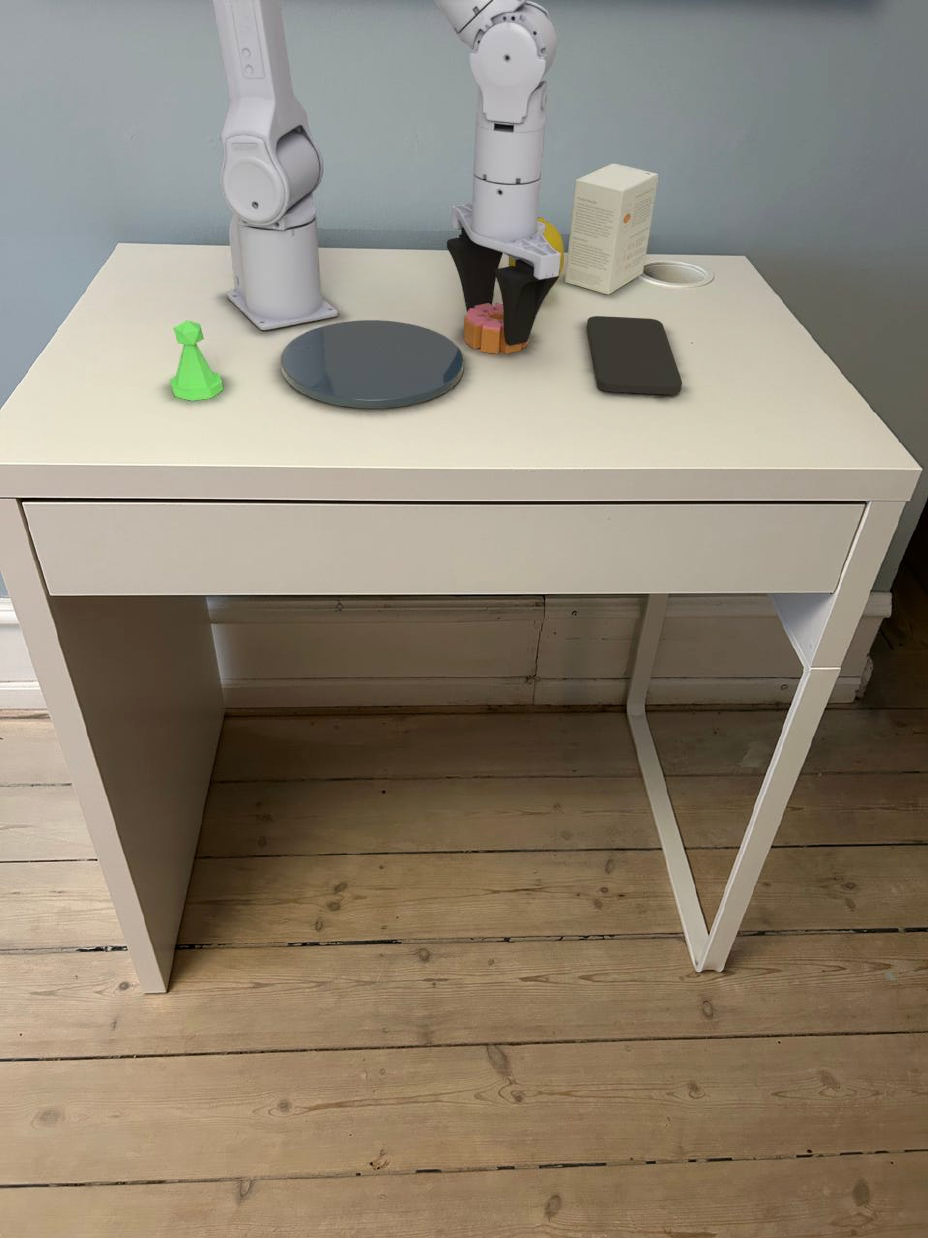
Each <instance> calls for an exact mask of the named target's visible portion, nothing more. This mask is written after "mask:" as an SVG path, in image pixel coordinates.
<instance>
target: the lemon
mask: <svg viewBox="0 0 928 1238" xmlns="http://www.w3.org/2000/svg"><path fill="white" fill-rule="evenodd" d="M537 220H538V221H539V222H541V223H543V224H545V225H546V228H545V233H543V234H542V235H543V236H544V238H545V239H546V240H547V242H548V243H549V244H550V246H551V247H552V248H553V249H555V250H556V251H557V252H559V253H561V257H560V267H559V270H560V272H559V278H558V280H557V281H556V282H555V284H554V285H553V286H552V288H553V287H554V286H555V285H556V284H557V283H558V281H559V279H560V277H561V275H562V273H563V269H564V264H565V249H564V241H563V237H562V235H561V233H560V231H559V230H558V229H557V228H556V227H555V226H554V225H553V224H552V223H550V222H548V221H546V220H545V219H544V217H541V216H537ZM509 266H514V267H515V260H514V259H512V258H511V257H509V256H508V267H509Z"/></svg>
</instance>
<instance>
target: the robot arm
mask: <svg viewBox="0 0 928 1238" xmlns="http://www.w3.org/2000/svg"><path fill="white" fill-rule="evenodd" d="M211 1H212V6H213V11H214V17H215V24H216V29H217V34H218V40H219V44H220V45H219V46H220V51H221V56H222V62H223V67H224V72H225V77H226V83H227V88H228V94H229V100H230V102H229V106H228V110H227V114H226V117H225V120H224V123H223V127H222V131H221V135H220V138H221V142H222V149H223V160H222V166H221V169H220V172H219V173H220V174H219V185H220V191H221V193H222V197H223V199H224V201H225V203H226V205H227V206H228V208H229V209H230V210H231V212H232V213H233V215H232V218H231V220H230V223H229V226H228V228H229V229H228V239H229V240H228V241H229V246H230V256H231V267H232V272H233V281H234V289H231V290H228V291H226V293H225V294H226V295H225V296H226V297H227V298H228V299H229V301H231V302H232V303H233V304H234V305H235V306H236V307H237V308H238V309H239V311H241V312H242V313H243V314H244V315H245V316H246V317H247V318H248V319H249V320H250V321H251V322H252V323H253V324H254V325H255V326H256V327H257V328H258V329H259V330H261V331H269V330H274V329H279V328H284V327H290V326H294V325H299V324H305V323H310V322H315V321H319V320H325V319H330V318H331V319H332V318H335V317H338V315H339V312H338V310H337V309H336V308H335V307H333V306H332V305H331V304H330V303H329V302H328V301H326V300H325V299H324V298H323V297H322V289H321V288H322V287H321V272H320V271H321V270H320V253H319V235H318V217H317V208H316V205H315V203H314V192H315V191H316V190H317V189H318V187H320V184H321V182H322V180H323V177H324V165H325V164H324V158H323V155H322V152H321V149H320V147H319V145H318V144H317V142H316V140H315V139H314V137H313V135H312V133H311V130H310V126H309V119H308V113H307V111H306V109H305V108H304V107H303V105H302V104H301V102H300V101H299V100H298V98H297V97H296V95H295V94H294V91H293V83H292V75H291V69H290V63H289V56H288V48H287V42H286V35H285V28H284V22H283V21H284V20H283V15H282V14H283V13H282V8H281V1H280V0H211ZM433 1H434V3H435V4H436V6H437V7H438V9H439V10H440V12H441V13H442V15H443V16H444V18H445V20H447V22H448V24H449V25H450V26H451V28H452V29H453V30H454V32H455V34H456V35H457V36H458V38H459V40H460V41H461V42H462V43H463V44H465V45H467V46H468V47H470V49H471V50H472V52H470V53H469V56H468V57H469V59H468V61H469V68H470V70H471V71H470V72H471V74H472V77H473V79H474V81H475V83H476V85H477V86H478V90H477V91H478V95H477V112H476V114H475V125H474V128H475V129H474V130H475V131H474V153H473V154H474V156H473V174H472V175H473V177H472V199H471V201H472V202H471V203H470V202H469V203H461V204H455V205H452V206H451V228H452V229H454V230H455V231H460V234H459V235H458V237H454V238H450V239H448V240H447V241H446V248H447V251H448V253H449V254H450V256H451V258H452V260H453V263H454V266H455V268H456V271H457V274H458V277H459V280H460V281H459V282H460V284H461V289H462V293H463V295H462V296H463V300H464V304H465V310H466V313H467V312H468V310H469V309H470V308H475V306H476V305H481V304H486V303H490V304H491V305H493V302H494V301H493V300H494V296H495V288H496V287H495V286H496V281H497V284H498V287H499V291H500V296H501V302H502V304H503V314H504V338H505V343H506V344H508V345H509V346H512V345H516V344H521V343H525V342H527V341H528V338H529V339H530V335H531V333H532V330H533V327H534V323H535V321H536V319H537V315H538V313H539V311H540V308H541V306H542V304H543V302H544V300H545V299H546V297H547V295H548V294H549V292H550V291H551V289H552V288H553V287H554V286H555V285H556V284H555V282H556V281H557V280H558V281H559V279H560V277H559V272H560V270H559V267H560V257H561V253H559V252H557V251H556V250H555V249H553V248H552V247H551V246H550V244H549V243H548V242H547V240H546V239H545V238H544V236H543V235H542V234H543V233H545V228H546V225H545V224H543V223H541V222H539V221H538V220H537V217H538V213H539V204H540V203H539V202H540V192H541V191H540V190H541V180H542V169H543V157H544V146H545V145H544V144H545V134H546V124H547V123H546V122H547V121H546V120H547V118H546V113H545V112H546V111H545V109H546V105H547V99H548V97H547V88H548V87H547V86H548V82H547V80H543V78H544V77H545V76H546V75H547V73H548V72H549V71H550V69H551V67H552V66H553V63H554V60H555V58H556V52H557V35H556V31H555V28H554V26H553V24H552V21H551V19H550V14H549V12H548V10H547V9H546V8H545V7H544V6H542V5H541V4H539V3H536V2H534V1H531V0H433ZM503 255H506V256H507V257H508V258H509V257H511V258H512V259H514V260H515V267H514V266H509V265H508V266H504V267H500V264H501V261H502V257H503ZM558 278H559V279H558ZM558 281H557V282H558ZM554 284H555V285H554ZM553 285H554V286H553ZM552 286H553V287H552Z"/></svg>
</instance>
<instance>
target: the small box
mask: <svg viewBox="0 0 928 1238" xmlns="http://www.w3.org/2000/svg"><path fill="white" fill-rule="evenodd" d="M659 177H660V175H659V173H656V172H652V171H648V170H644V169H640V168H635V167H631V166H627V165H623V164H618V163H613V162H612V163H610V164H608V165H606V166H603V167H601V168H599V169H597V170H594V171H591V172H590V173H587V174H584V175H583V176H581V177H579V178H576V179H575V181H574V189H573V201H572V209H571V218H570V230H569V237H568V239H569V240H568V247H567V248H568V249H567V257H566V267H565V268H566V269H565V277H564V282H565V283H566V284H570V285H573V286H577V287H581V288H583V289H588V290H591V291H594V292H597V293H600V294H604V295H610V294H612V293H614V292H615V291H617V290H619V289H620V288H621V287H624V286H625V285H626V284H628V283H630V282H632V281H633V280H635V279H637V278H638V277H640V276H641V275H642V274H644V270H645V269H644V268H645V264H646V263H645V262H646V257H647V253H648V245H649V240H650V239H649V238H650V233H651V228H652V227H651V226H652V220H653V213H654V207H655V206H654V205H655V201H656V195H657V189H658V183H659V182H658V181H659Z"/></svg>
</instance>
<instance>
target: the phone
mask: <svg viewBox="0 0 928 1238" xmlns="http://www.w3.org/2000/svg"><path fill="white" fill-rule="evenodd" d="M586 331H587V336H588V343H589V348H590V351H591V352H590V353H591V358H592V359H591V360H592V364H593V370H594V375H595V381H596V385H597V387H598V388H599V389H601V390H603V391H606V392H611V393H630V394H648V395H649V394H651V395H677V394H679V393H680V392H681V390H682V386H683V380H682V377H681V375H680V372H679V371H680V370H679V368H678V365H677V363H676V360H675V357H674V353H673V351H672V348H671V345H670V342H669V339H668V336H667V333H666V330H665V327H664V324H663V322H661V321H660V320H658V319H654V318H648V317H647V318H646V317H645V318H644V317H643V318H642V317H628V316H627V317H626V316H625V317H624V316H607V315H606V316H603V315H595V316H590V317H589V318H587V321H586Z"/></svg>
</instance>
